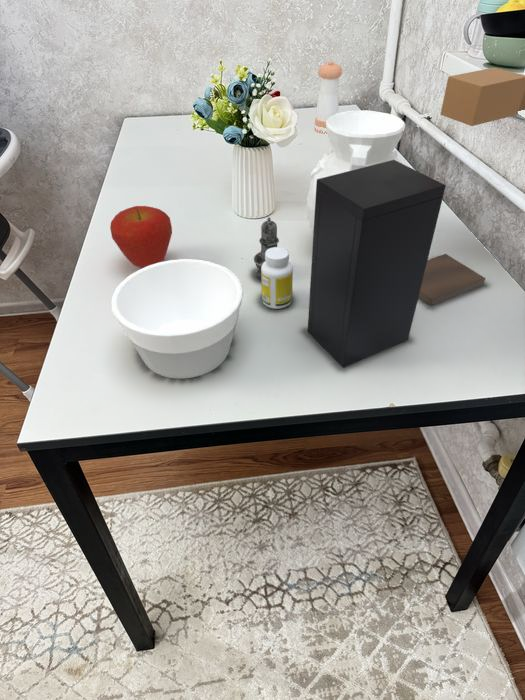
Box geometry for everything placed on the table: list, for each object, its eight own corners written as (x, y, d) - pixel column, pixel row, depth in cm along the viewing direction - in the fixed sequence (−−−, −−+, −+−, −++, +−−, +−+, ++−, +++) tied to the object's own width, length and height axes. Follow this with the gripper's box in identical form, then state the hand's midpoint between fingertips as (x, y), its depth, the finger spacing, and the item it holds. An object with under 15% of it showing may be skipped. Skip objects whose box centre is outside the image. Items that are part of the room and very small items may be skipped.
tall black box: (408, 340, 79) (446, 185, 62) (342, 368, 75) (364, 209, 57) (369, 307, 86) (393, 159, 68) (307, 331, 81) (316, 179, 64)
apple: (118, 283, 93) (104, 225, 85) (122, 253, 101) (109, 198, 93) (177, 277, 94) (168, 219, 86) (176, 249, 102) (168, 193, 94)
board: (483, 284, 91) (485, 278, 90) (430, 306, 86) (432, 299, 85) (443, 260, 97) (445, 253, 96) (392, 278, 93) (394, 271, 92)
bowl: (246, 310, 86) (243, 256, 79) (245, 389, 72) (242, 333, 64) (136, 312, 86) (124, 259, 79) (114, 393, 72) (96, 337, 64)
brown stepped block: (562, 103, 74) (576, 66, 70) (471, 126, 67) (482, 86, 64) (529, 94, 78) (540, 58, 74) (440, 114, 71) (448, 76, 68)
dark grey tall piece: (290, 271, 95) (291, 214, 87) (274, 286, 91) (274, 228, 83) (264, 263, 97) (263, 206, 89) (248, 277, 94) (245, 219, 85)
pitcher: (393, 278, 92) (420, 143, 76) (297, 268, 96) (302, 135, 79) (396, 231, 106) (419, 107, 89) (311, 223, 109) (318, 102, 92)
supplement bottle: (295, 295, 89) (297, 247, 82) (286, 312, 85) (288, 264, 79) (267, 289, 90) (266, 242, 84) (257, 306, 87) (256, 258, 80)
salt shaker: (327, 124, 158) (332, 57, 146) (342, 131, 154) (348, 61, 141) (309, 129, 156) (313, 60, 143) (324, 135, 151) (328, 65, 138)
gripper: (520, 90, 87) (482, 54, 78) (633, 123, 73) (603, 84, 65) (498, 126, 89) (459, 95, 80) (603, 163, 76) (571, 131, 67)
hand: (524, 90), depth 72 cm, fingers closed on brown stepped block, 4 cm apart
